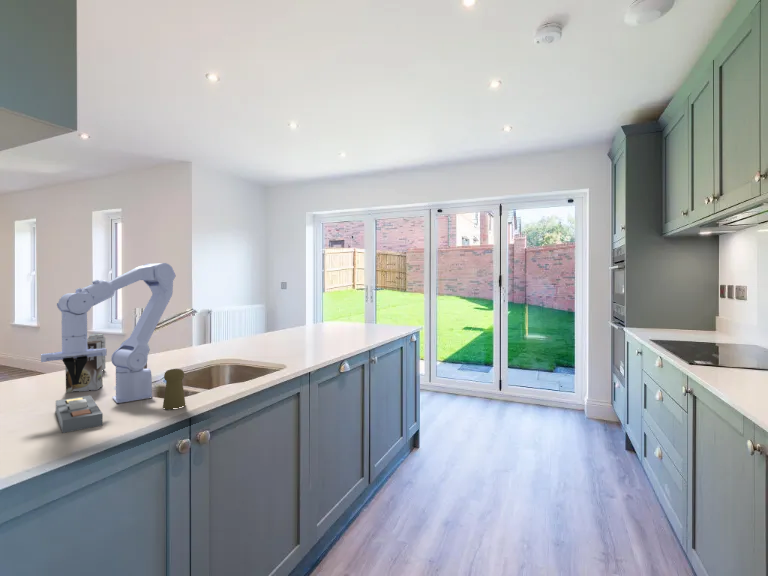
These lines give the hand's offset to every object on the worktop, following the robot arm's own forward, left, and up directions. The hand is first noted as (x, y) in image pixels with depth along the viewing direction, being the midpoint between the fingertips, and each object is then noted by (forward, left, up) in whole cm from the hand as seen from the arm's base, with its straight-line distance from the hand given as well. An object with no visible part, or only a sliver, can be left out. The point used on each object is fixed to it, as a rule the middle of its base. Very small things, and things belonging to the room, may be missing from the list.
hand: (75, 384), depth 113 cm
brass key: (0, 0, -7) cm, 7 cm away
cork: (-22, +14, -8) cm, 27 cm away
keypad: (0, +7, -8) cm, 10 cm away
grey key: (0, +7, -6) cm, 9 cm away
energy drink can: (-12, -57, -8) cm, 59 cm away
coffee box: (-5, -27, -8) cm, 29 cm away
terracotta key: (0, +14, -8) cm, 16 cm away
